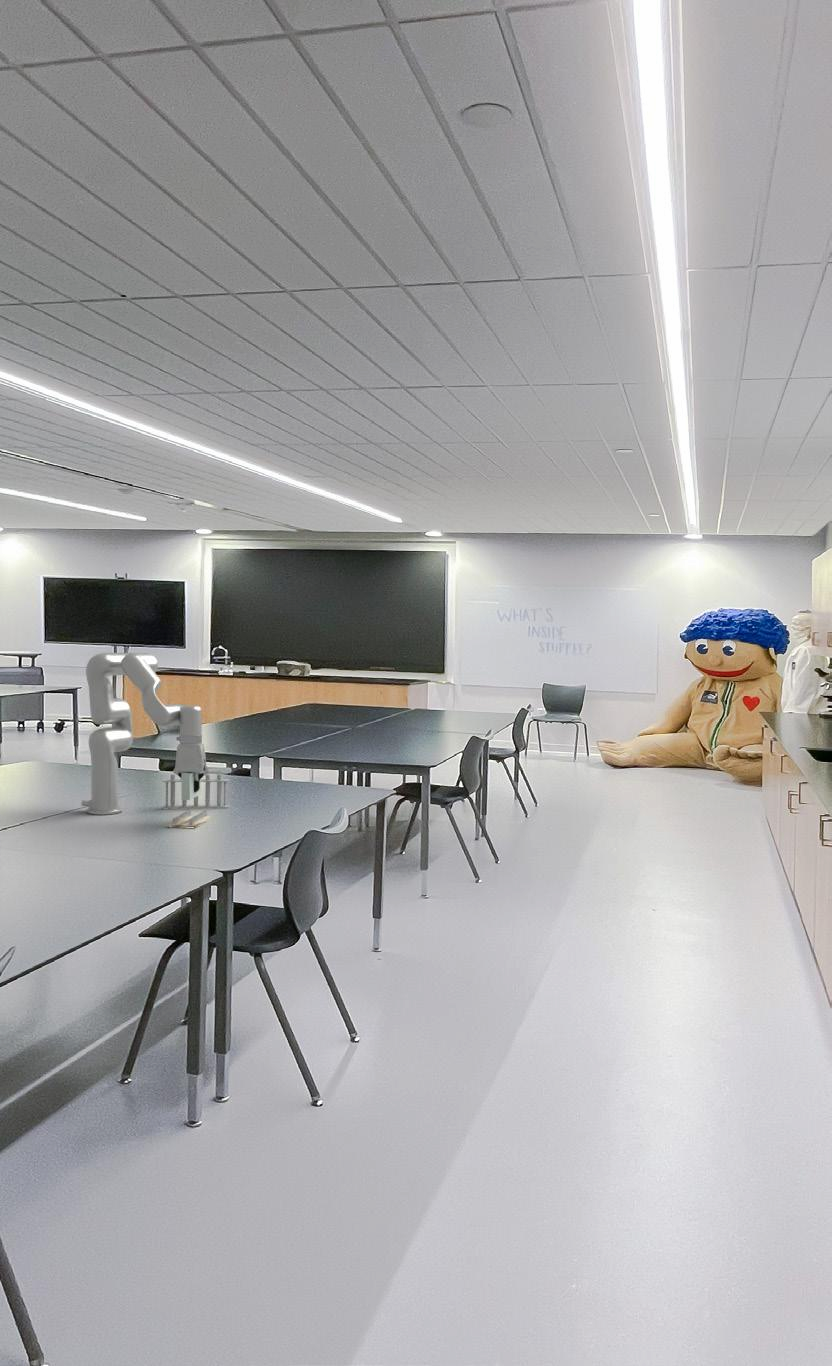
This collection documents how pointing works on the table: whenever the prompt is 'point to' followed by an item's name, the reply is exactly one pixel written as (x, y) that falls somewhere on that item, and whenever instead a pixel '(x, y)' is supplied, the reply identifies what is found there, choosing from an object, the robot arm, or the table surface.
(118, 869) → the table surface
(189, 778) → the door panel
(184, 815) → the bottom track
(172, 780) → the test tube rack
